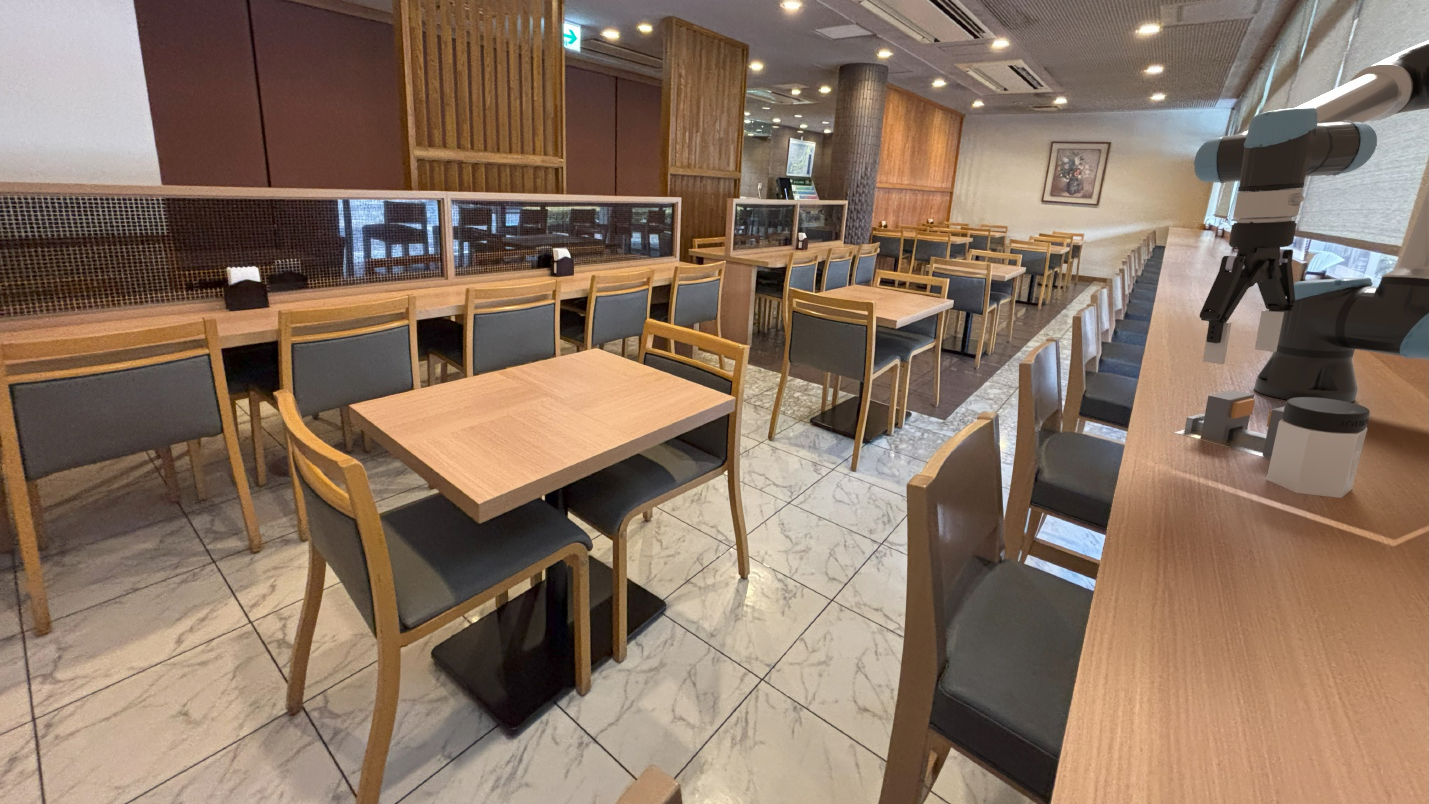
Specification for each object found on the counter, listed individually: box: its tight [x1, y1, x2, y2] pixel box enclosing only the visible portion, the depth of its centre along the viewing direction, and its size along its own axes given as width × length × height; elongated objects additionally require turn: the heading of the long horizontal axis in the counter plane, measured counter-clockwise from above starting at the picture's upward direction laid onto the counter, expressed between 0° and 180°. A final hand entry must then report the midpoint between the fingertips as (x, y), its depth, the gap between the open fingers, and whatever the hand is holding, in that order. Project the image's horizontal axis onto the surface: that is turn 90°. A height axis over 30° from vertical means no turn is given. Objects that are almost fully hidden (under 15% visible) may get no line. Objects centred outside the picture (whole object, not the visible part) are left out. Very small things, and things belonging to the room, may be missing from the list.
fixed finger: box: [1263, 405, 1285, 456], centre depth 96 cm, size 4×6×7 cm, turn 113°
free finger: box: [1201, 389, 1256, 442], centre depth 103 cm, size 4×6×7 cm, turn 113°
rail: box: [1173, 413, 1271, 460], centre depth 100 cm, size 9×20×3 cm, turn 23°
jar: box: [1266, 397, 1371, 499], centre depth 84 cm, size 9×8×12 cm
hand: (1240, 356), depth 101 cm, fingers open, 13 cm apart
